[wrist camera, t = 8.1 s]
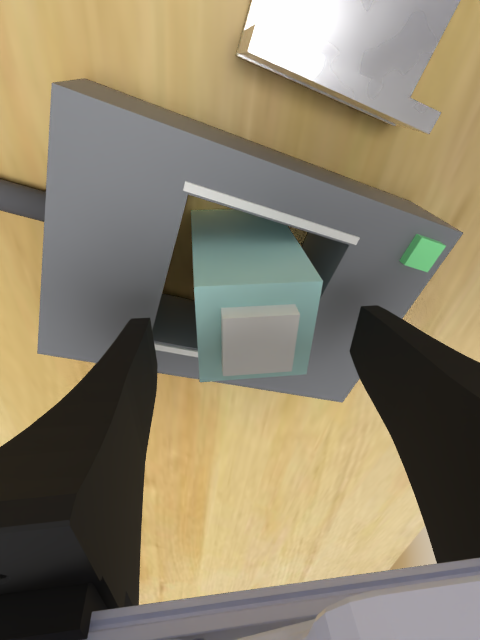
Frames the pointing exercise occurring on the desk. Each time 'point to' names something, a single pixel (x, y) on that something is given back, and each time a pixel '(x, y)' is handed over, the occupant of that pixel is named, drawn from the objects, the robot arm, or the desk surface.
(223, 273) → the plug
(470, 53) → the desk surface
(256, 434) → the desk surface
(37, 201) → the grey bar
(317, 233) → the port panel
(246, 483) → the desk surface
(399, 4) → the grey metal channel bracket
